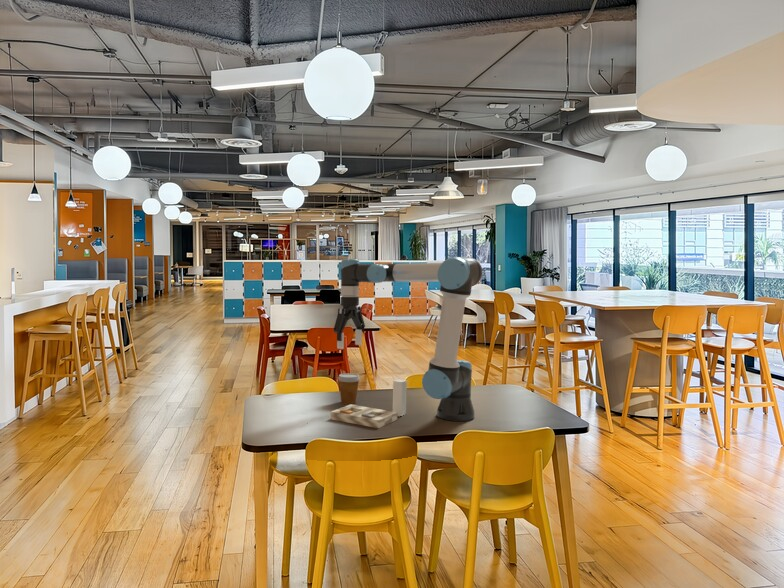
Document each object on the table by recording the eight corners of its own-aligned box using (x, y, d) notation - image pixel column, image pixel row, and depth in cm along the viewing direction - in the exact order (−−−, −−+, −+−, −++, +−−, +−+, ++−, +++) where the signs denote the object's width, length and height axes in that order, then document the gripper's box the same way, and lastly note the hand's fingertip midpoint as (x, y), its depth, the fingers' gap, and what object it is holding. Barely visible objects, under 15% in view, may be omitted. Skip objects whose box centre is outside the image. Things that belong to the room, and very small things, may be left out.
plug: (405, 414, 252) (406, 380, 251) (401, 416, 248) (401, 382, 247) (397, 413, 253) (398, 379, 252) (392, 415, 250) (393, 380, 249)
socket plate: (397, 419, 243) (397, 410, 243) (378, 428, 231) (379, 418, 231) (350, 411, 254) (350, 402, 254) (330, 419, 242) (330, 409, 242)
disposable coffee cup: (362, 401, 272) (362, 374, 271) (355, 406, 263) (355, 378, 262) (342, 399, 275) (342, 372, 274) (334, 404, 266) (334, 376, 265)
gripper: (358, 294, 270) (358, 342, 272) (324, 297, 249) (324, 349, 250) (373, 294, 267) (372, 343, 268) (340, 298, 245) (340, 351, 246)
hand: (349, 346), depth 259 cm, fingers open, 13 cm apart
